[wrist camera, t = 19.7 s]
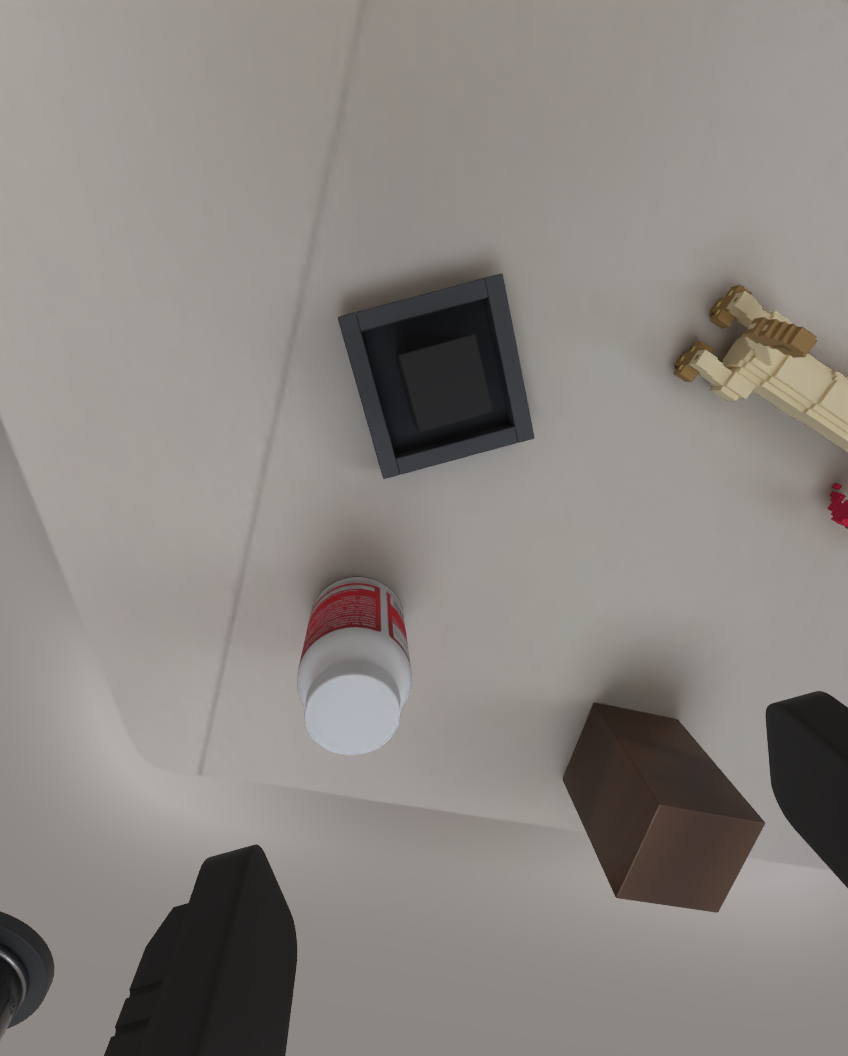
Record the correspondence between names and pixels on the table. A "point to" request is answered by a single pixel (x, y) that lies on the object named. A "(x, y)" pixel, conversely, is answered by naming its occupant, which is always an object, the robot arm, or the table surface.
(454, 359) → the black block
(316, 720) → the pill bottle
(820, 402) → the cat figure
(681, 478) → the table surface
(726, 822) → the riser
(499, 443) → the dark open tray
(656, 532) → the table surface
